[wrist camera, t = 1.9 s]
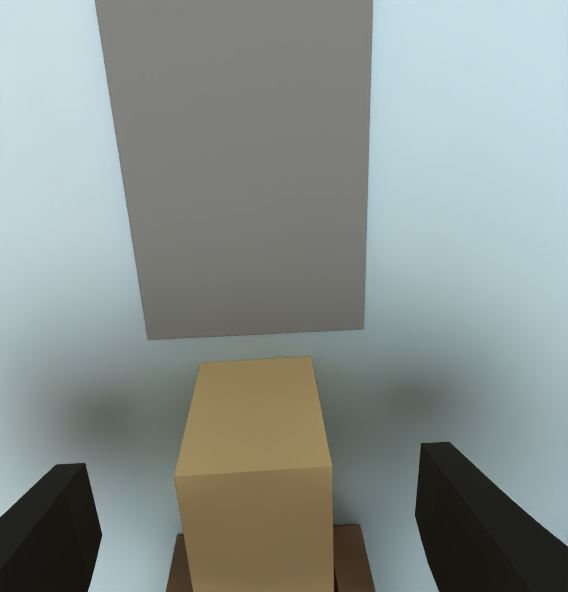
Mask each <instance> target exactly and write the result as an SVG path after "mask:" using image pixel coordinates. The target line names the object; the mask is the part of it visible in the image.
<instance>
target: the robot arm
mask: <svg viewBox="0 0 568 592" xmlns="http://www.w3.org/2000/svg"><path fill="white" fill-rule="evenodd" d="M415 517H416V521H417V525H418V529H419V532H420V536H421V540H422V544H423V547H424V551H425V554H426V558H427V561H428V564H429V567H430V569H431V572H432V575H433V577H434V580H435V582H436V585H437V587H438V590H439V592H568V546H566V545H565V544H564V543H563V542H561V541H560V540H559V539H558V538H556V537H555V536H554V535H553V534H551V533H550V532H549V531H548V530H546V529H545V528H544V527H543V526H542V525H540V524H539V523H538V522H537V521H536V520H535V519H533V518H532V517H531V516H530V515H529V514H528V513H526V512H525V511H524V510H523V509H522V508H521V507H520V506H518V505H517V504H516V503H515V502H514V501H513V500H512V499H510V498H509V497H508V496H507V495H506V494H505V493H504V492H503V491H502V490H500V489H499V488H498V487H497V486H496V485H495V484H494V483H493V482H492V481H491V480H490V479H488V478H487V477H486V476H485V475H484V474H483V473H482V472H481V471H480V470H479V469H478V468H477V467H476V466H475V465H474V464H472V463H471V462H470V461H469V460H468V459H467V458H466V457H465V456H464V455H463V454H462V453H461V452H460V451H459V450H457V449H456V448H455V447H454V446H453V445H452V444H451V443H450V442H437V443H421V451H420V463H419V474H418V486H417V498H416V509H415ZM101 538H102V532H101V528H100V524H99V519H98V515H97V511H96V507H95V502H94V498H93V494H92V490H91V485H90V481H89V477H88V473H87V469H86V464H85V463H76V464H58V465H55V466H54V467H53V468H52V469H51V470H50V471H49V472H48V473H46V474H45V475H44V476H43V477H42V478H41V479H40V480H39V481H38V482H37V483H36V484H35V485H34V486H33V487H32V488H31V489H30V490H29V491H28V492H26V493H25V494H24V495H23V496H22V497H21V498H20V499H19V500H18V501H17V502H16V503H15V504H14V505H13V506H12V507H11V508H10V509H9V510H8V511H7V512H5V513H4V514H3V515H2V516H1V517H0V592H88V589H89V586H90V583H91V579H92V575H93V571H94V567H95V563H96V559H97V555H98V551H99V546H100V542H101Z"/></svg>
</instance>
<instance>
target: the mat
mask: <svg viewBox="0 0 568 592" xmlns="http://www.w3.org/2000/svg"><path fill="white" fill-rule="evenodd" d="M95 5H96V12H97V18H98V25H99V31H100V37H101V44H102V50H103V57H104V63H105V69H106V76H107V82H108V89H109V95H110V101H111V108H112V114H113V121H114V127H115V133H116V140H117V146H118V153H119V159H120V165H121V172H122V178H123V184H124V191H125V197H126V204H127V210H128V216H129V223H130V229H131V236H132V242H133V248H134V255H135V261H136V268H137V274H138V280H139V287H140V293H141V300H142V306H143V312H144V319H145V325H146V332H147V338H148V340H156V339H176V338H196V337H217V336H237V335H257V334H277V333H297V332H318V331H338V330H358V329H364V302H365V267H366V231H367V196H368V160H369V125H370V89H371V54H372V18H373V0H95Z"/></svg>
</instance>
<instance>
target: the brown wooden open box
mask: <svg viewBox="0 0 568 592" xmlns="http://www.w3.org/2000/svg"><path fill="white" fill-rule="evenodd" d="M333 562H334V592H375V588H374V584H373V579H372V575H371V571H370V566H369V562H368V557H367V553H366V549H365V544H364V540H363V535H362V531H361V527H360V525H346V526H333ZM166 592H193V588H192V582H191V576H190V570H189V564H188V558H187V552H186V546H185V540H184V535H177V538H176V543H175V548H174V553H173V558H172V563H171V568H170V573H169V579H168V584H167V589H166Z"/></svg>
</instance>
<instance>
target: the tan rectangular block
mask: <svg viewBox="0 0 568 592" xmlns="http://www.w3.org/2000/svg"><path fill="white" fill-rule="evenodd" d="M174 480H175V486H176V492H177V498H178V504H179V510H180V516H181V522H182V528H183V534H184V540H185V546H186V552H187V558H188V564H189V570H190V576H191V582H192V588H193V592H334V562H333V488H332V462H331V457H330V452H329V447H328V441H327V436H326V431H325V426H324V420H323V415H322V410H321V405H320V400H319V394H318V389H317V384H316V379H315V373H314V368H313V363H312V358H311V356H304V357H287V358H271V359H255V360H239V361H222V362H206V363H200V367H199V371H198V375H197V380H196V384H195V388H194V393H193V397H192V401H191V406H190V410H189V414H188V418H187V423H186V427H185V431H184V436H183V440H182V444H181V448H180V453H179V457H178V461H177V466H176V470H175V474H174Z"/></svg>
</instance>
